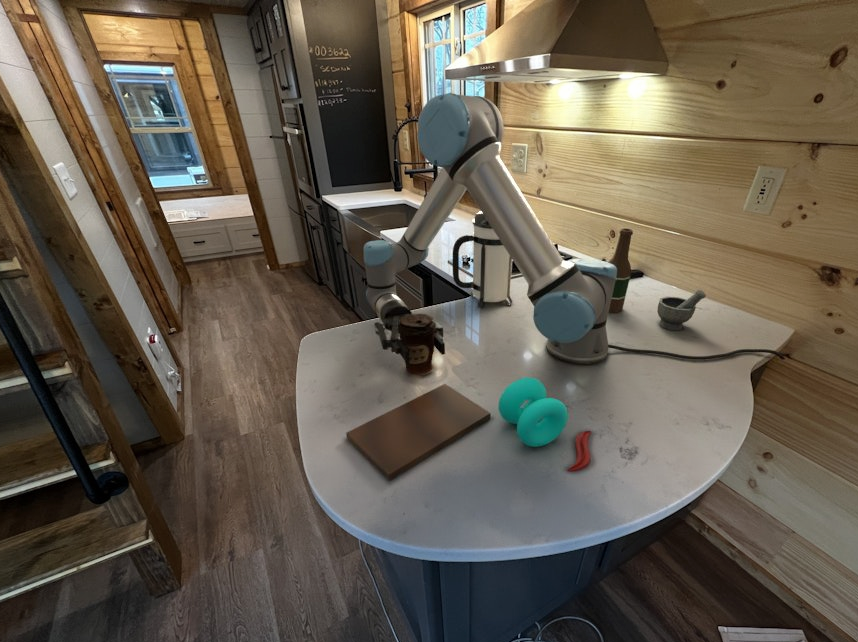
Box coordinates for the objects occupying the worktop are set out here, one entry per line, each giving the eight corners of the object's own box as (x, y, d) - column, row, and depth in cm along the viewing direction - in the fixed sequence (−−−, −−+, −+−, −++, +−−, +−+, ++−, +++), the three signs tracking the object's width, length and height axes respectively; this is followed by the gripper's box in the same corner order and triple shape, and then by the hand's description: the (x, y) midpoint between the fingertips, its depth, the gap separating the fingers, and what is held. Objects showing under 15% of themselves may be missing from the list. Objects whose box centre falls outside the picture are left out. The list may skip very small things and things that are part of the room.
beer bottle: (625, 306, 129) (644, 228, 116) (618, 315, 123) (637, 234, 110) (601, 301, 132) (616, 225, 119) (593, 309, 126) (609, 230, 113)
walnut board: (445, 389, 89) (444, 383, 88) (490, 418, 81) (490, 413, 80) (347, 438, 75) (345, 432, 74) (389, 481, 67) (388, 474, 66)
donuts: (519, 456, 72) (524, 412, 66) (494, 423, 80) (497, 380, 74) (566, 441, 75) (574, 398, 70) (538, 411, 83) (543, 369, 77)
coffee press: (482, 287, 141) (485, 195, 125) (522, 298, 133) (530, 201, 117) (451, 303, 129) (450, 203, 113) (493, 316, 121) (499, 210, 105)
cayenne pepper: (579, 476, 68) (581, 468, 67) (555, 464, 70) (556, 456, 69) (607, 439, 76) (609, 431, 75) (584, 429, 78) (585, 421, 77)
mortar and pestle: (647, 324, 118) (658, 285, 111) (660, 315, 123) (671, 277, 117) (686, 337, 111) (700, 296, 105) (699, 327, 117) (713, 287, 110)
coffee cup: (431, 381, 91) (428, 330, 84) (396, 377, 92) (390, 326, 85) (441, 362, 98) (439, 312, 91) (408, 358, 100) (404, 309, 92)
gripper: (431, 319, 111) (467, 357, 94) (356, 334, 103) (381, 378, 86) (430, 293, 107) (468, 328, 90) (352, 306, 99) (377, 347, 82)
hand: (425, 353), depth 88 cm, fingers closed on coffee cup, 8 cm apart
